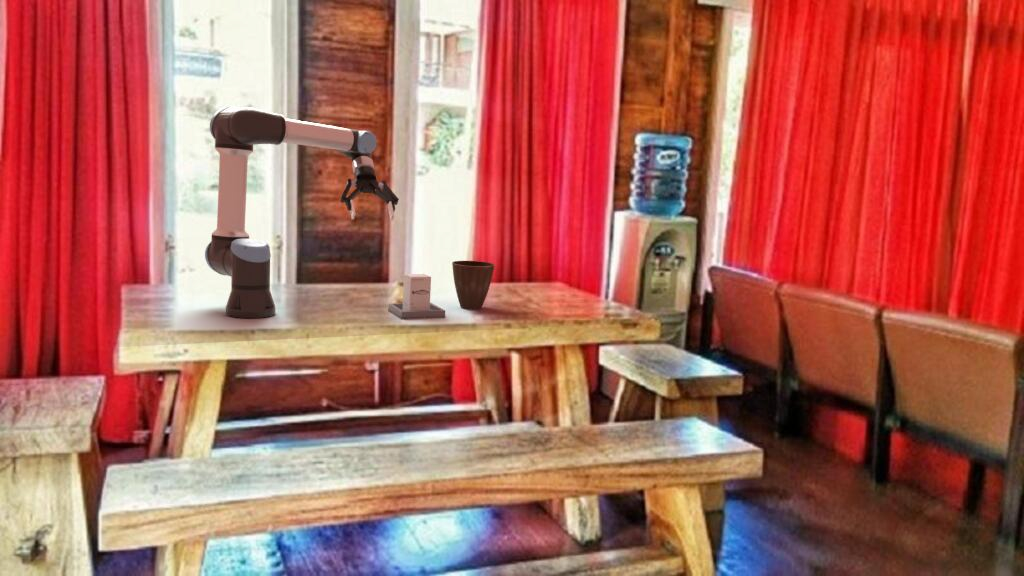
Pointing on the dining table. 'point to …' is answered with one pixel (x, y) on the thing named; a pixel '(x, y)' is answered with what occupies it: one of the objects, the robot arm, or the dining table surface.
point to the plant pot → (472, 282)
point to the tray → (416, 312)
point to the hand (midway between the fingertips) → (373, 217)
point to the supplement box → (416, 292)
